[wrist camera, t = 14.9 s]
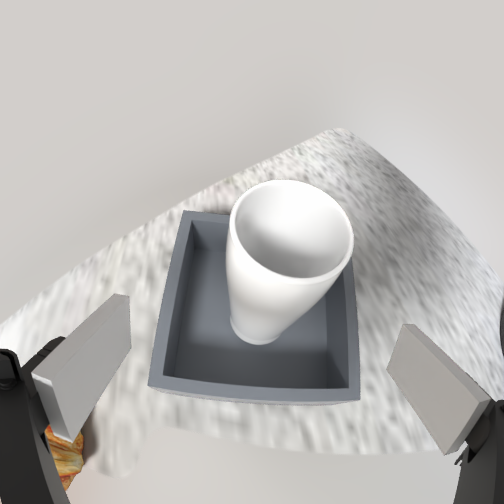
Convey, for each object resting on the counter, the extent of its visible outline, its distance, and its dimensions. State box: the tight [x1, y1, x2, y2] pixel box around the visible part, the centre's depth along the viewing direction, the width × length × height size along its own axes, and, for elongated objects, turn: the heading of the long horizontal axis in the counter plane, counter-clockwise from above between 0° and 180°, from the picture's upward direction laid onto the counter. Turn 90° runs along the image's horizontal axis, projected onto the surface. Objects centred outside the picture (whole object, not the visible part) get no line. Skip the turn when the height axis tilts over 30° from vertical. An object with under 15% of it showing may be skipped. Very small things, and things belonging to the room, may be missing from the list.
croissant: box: [45, 424, 84, 491], centre depth 16 cm, size 21×10×8 cm, turn 166°
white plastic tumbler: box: [225, 179, 354, 345], centre depth 21 cm, size 7×7×15 cm
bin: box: [148, 210, 360, 405], centre depth 26 cm, size 16×16×6 cm
